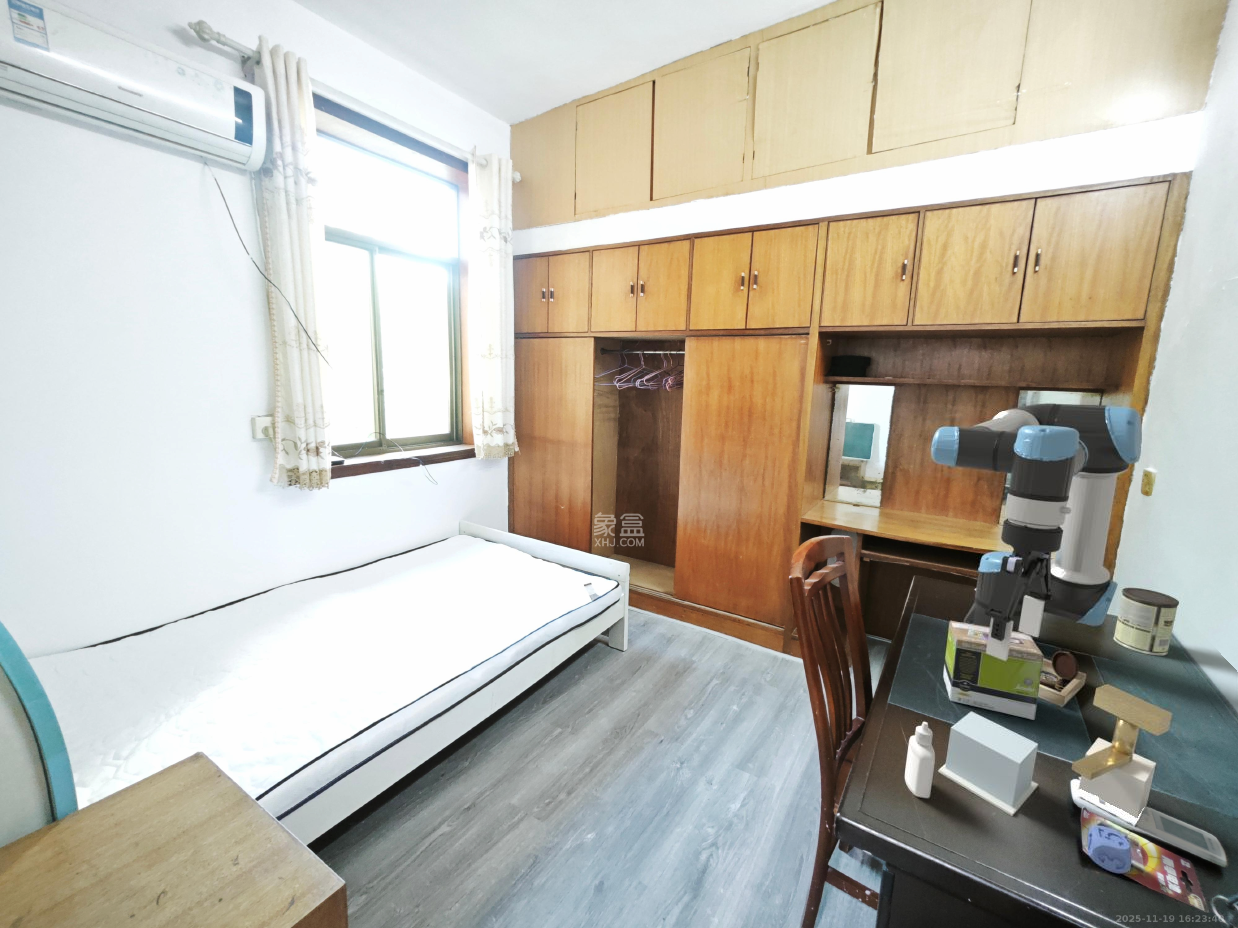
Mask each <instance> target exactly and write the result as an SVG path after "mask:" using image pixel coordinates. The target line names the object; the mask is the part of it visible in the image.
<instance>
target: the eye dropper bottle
mask: <svg viewBox="0 0 1238 928" xmlns="http://www.w3.org/2000/svg"><path fill="white" fill-rule="evenodd" d="M933 734H934V733H933V731H932V729H931V728H929V724H928V722H926V721H923V722H922V723H921V725H918V726H916V727H915V732H914V735H911V736H910V737H909V739H908V748H907V754H906V761H905V771H904V781H905V784H906V786H907V788H908V790H909V791H910V792H911V793H912V794H913V795H914V796H915V797H918V798H923V799H930V797H931V791H932V784H933V776H934V769H935V762H936V761H935V760H936V754H935V749H934V747H933V745H932V742H933Z"/></svg>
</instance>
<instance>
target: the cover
mask: <svg viewBox="0 0 1238 928" xmlns="http://www.w3.org/2000/svg"><path fill="white" fill-rule="evenodd" d="M1038 747H1039V743H1037V742H1036V741H1035V742H1034V741H1033V740H1031V739H1029V738H1026V737H1025V736H1023V735H1022V734H1021V735H1020V733H1019V734H1018V733H1016V732H1015V731H1012V730H1010V729H1008V728H1006V727H1004V726H1002V725H1000V724H998V723H997V722H996V723H995V722H994V721H992V720H989V719H988V718H986V717H984V716H982V715H979V714H977V712H973V711H970V712H969V713H967V714H966V715H965V716H964V717H962V718H961V719H959V720H958V721H957V722H956V723H955V724H953V725H952V726H951V727H950V731H949V738H948V746H947V753H946V760H945V764H946V765H945V764H944V765H945V768H946V769H948V770H950V771H951V772H953V773H955V774H956V775H958V776H960V777H961V778H963V779H965V780H967V781H968V782H970V783H972V784H973V785H975V786H977V787H978V788H980V789H982V790H984V791H985V792H987V793H989V794H990V795H992V796H994V797H995V798H997V799H999V800H1001V801H1002V802H1004V803H1006V804H1007V805H1009V806H1011V807H1013V805H1014V804H1015V803H1016V802H1017V801H1018V800H1019V799H1020V797H1021V796H1022V795H1023V794H1024V793H1025V792H1026V791H1027V789H1028V788H1029V787H1030V786H1031V781H1033V775H1034V769H1035V764H1036V760H1037V759H1036V758H1037V752H1038Z"/></svg>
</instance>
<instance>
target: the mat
mask: <svg viewBox="0 0 1238 928" xmlns="http://www.w3.org/2000/svg"><path fill="white" fill-rule="evenodd" d="M945 765H946V763H945V764H943V766H941V767H940V768H939V769H938V770H937V772H938V773H940V775H943V776H944V777H946V778H947V779H949V780H951V781H953V782H954V783H956V784H957V785H959V786H961V787H963V788H965V789H966V790H967V791H969V792H971V793H973V794H974V795H976V796H978V797H979V798H981V799H982V800H984V801H986V802H988V803H989V804H991V805H993V806H994V807H996V808H998V809H999V810H1001V811H1002V812H1005V813H1006V814H1008V815H1010V816H1011V817H1013V816H1014V815H1015V814H1016V812H1017V811H1018V810H1019V809H1020V808H1021V806H1022V805H1024V803H1025V802H1026V800H1027V799H1028V798H1029V797H1030V796H1031V795H1032V794H1033V792H1034V791H1035V790H1036V788H1037V787H1038V786H1039V784H1038V783H1036V782H1035V781H1033V780H1032V781H1031V786H1030V787H1029V788H1028V789H1027V791H1026V792H1025V793H1024V794H1023V795H1022V796H1021V797H1020V799H1019V800H1018V801H1017V802H1016V803H1015V804H1014V805H1013V807H1011V806H1009V805H1007V804H1006V803H1004V802H1002V801H1001V800H999V799H997V798H995V797H994V796H992V795H990V794H989V793H987V792H985V791H984V790H982V789H980V788H978V787H977V786H975V785H973V784H972V783H970V782H968V781H967V780H965V779H963V778H961V777H960V776H958V775H956V774H955V773H953V772H951V771H950V770H948V769H946V768H945Z"/></svg>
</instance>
